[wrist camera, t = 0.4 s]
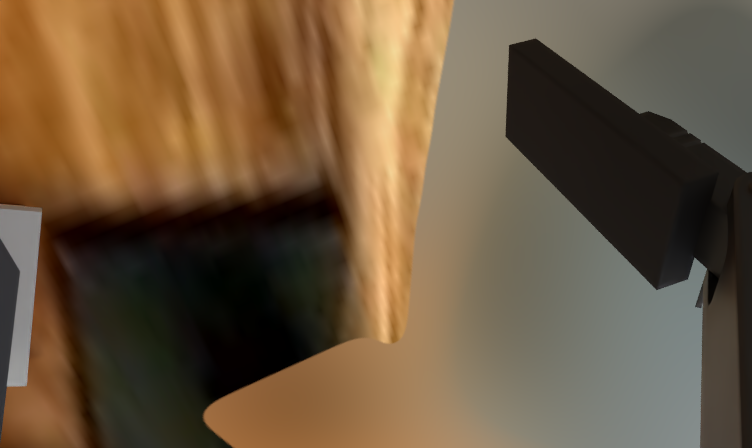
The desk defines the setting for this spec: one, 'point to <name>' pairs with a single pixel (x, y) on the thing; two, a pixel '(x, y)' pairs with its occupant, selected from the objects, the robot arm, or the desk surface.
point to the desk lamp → (21, 280)
